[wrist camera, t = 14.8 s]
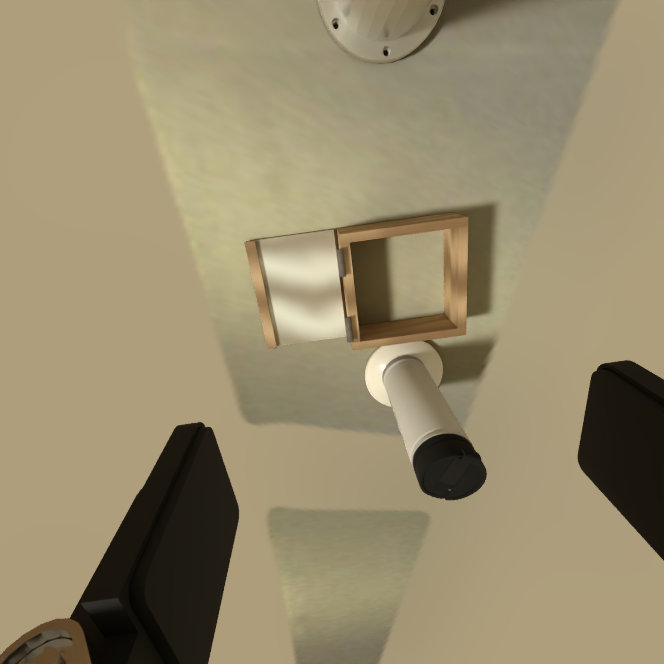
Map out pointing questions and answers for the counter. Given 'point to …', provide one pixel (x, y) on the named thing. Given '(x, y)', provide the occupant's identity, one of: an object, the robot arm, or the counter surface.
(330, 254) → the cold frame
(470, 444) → the travel mug
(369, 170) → the counter surface
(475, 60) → the counter surface
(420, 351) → the saucer
